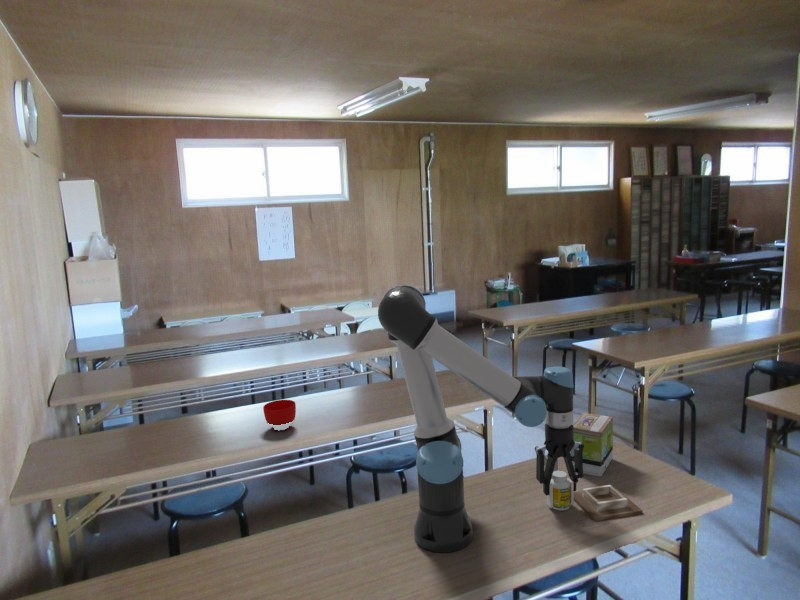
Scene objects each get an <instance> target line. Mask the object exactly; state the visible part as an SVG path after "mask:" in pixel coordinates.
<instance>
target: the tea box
mask: <svg viewBox="0 0 800 600" xmlns="http://www.w3.org/2000/svg"><path fill="white" fill-rule="evenodd" d="M572 425H573V426H574V437H573V440H574V441H575V442H577V441H579V442H581V443H582V444H583V445H584V449H583V452H582V458H583V475H588V476H589V475H590V476H593V477H602V476H603V474H605V473H604V472H605V471H606V470H607V468H608V466H609V465H610V463H611V461H612V460H613V457H614V456H613V452H614V450H613V448H614V447H613V446H614V445H613V443H614V417H613V416H607V415H602V414H600V415H599V414H595V413H587V412H582V413H581V415H579V417H578V418H577V420H576V421H575V422H573V424H572ZM570 454H571V457H572V459H571V460H572V463H573V466H574V470H575V462H574V447H573V448H572V450H571V451H570Z"/></svg>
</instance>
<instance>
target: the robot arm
mask: <svg viewBox="0 0 800 600" xmlns="http://www.w3.org/2000/svg"><path fill="white" fill-rule="evenodd" d="M425 299H426V298H425V297H424V296H423V294H422V293H421V292H420V291H419V289H417V288H415V287H413V286H412V285H406V284H400V285H397V286H394V287H392V288H391V289H389V290H388V291H387V292H386V293H385V294H384V297H382V299H381V301H380V302H379V305H378V309H377V317H378V321H379V323H380V325H381V326H382V328H383V330H385V332H386V334H387V337H388V339H389V341H390V342H391V343H393V344H395V345H396V348H397V354H398V356H399V361H400V363H401V367H402V371H403V375H404V379H405V383H406V387H407V391H408V395H409V398H410V403H411V407H412V409H413V414H414V417H415V418H414V419H415V422H416V427H415V429H414V431H413V435H414V439H415V443H416V447H417V450H418V451H417V453H416V460H415V467H416V470H417V471H416V472H417V486H418V487H417V489H418V505H419V509H418V512H417V516H416V519H415V523H414V526H413V527H414V528H413V534H414V540H415V542H416V544H417V545H419V547H421V548H423V549H424V550H427V551H430V552H435V553H452V552H457V551H459V550H462V549H464V548H465V547H467V546H468V545H470V543H471V541H472V540H473V537H474V536H473V535H474V533H473V525H472V522H471V519H470V517H469V514H468V512H467V510H466V507H465V487H464V485H465V484H464V483H465V482H464V458H463V457H464V456H463V454H462V443H461V442H462V441H461V439H460V437H459V435H458V433H457V430H456V426H455V425H456V424H455V422H454V421H453V419H449V417H448V416H447V411H446V407H445V404H444V400H443V397H442V392H441V388H440V384H439V381H438V380H439V379H438V376H437V372H436V368H435V364H434V361H433V360H435V361H436V362H438V363H439V364H441V365H443V366H444V367H445V368H447V369H448V370H449V371H451V372H452V373H454V374H455V375H457V376H458V377H460V378H461V379H463V380H464V381H466V383H468V384H470V385H471V386H473V387H474V388H475V389H477V390H478V391H480V392H481V393H483V394H484V395H486V396H487V397H489V398H490V399H491V400H493V401H494V402H496V403H497V404H499V405H500V406H501V407H503V408H504V409H506V410H507V411H509V413H511V414H513V415H514V416H515V418H516V420H517V421H518V422H519V423H520V424H521V425H523V426H524V427H527V428H536V427H538V426H540V425H542V424H543V422H544V423H545V424H544V438H545V440H544V443H543V444H542V445H541V446H538V445H536V446H535V447H534V452H535V453H536V461H535V462H536V466H535V467H536V470H535V472H536V473H535V474H536V475H535V479H536V481H538V482H539V483H540V484H541V485H542V486H543V487H542V488H543V494H544V495H545V496H546V497H545V499H546V505H548V506H549V508H552V507H553V485H552V484H551V483H550V482H551V479H553V478H552V474H553V470H554V466H555V462H557V459H559V458H563V460H564V464H565V467H566V471H567V475H568V477H567V480H568V481H569V483H570V506H571V505H574V502H575V501H574V492H577V483H579V479H583V478H584V473H583V458H582V452H583V449H584V445H583V444H582V443H581V442H579V441H577V442H575V441H574V440H573V437H574V426H573V424H574V387H575V385H574V376H573V371H572V370H571V369H570V368H568V367H566V366H565V367H564V366H560V365H559V366H558V365H557V366H552V367H551V366H548V367H546V368H544V371H543V375H536V376H533V375H531V376H515V375H511V374H510V373H508V372H507V371H505V370H504V369H502V368H501V367H500V366H498V365H497V364H495V363H494V362H492V361H491V360H490V359H488V358H486V357H485V356H484V355H482V354H481V353H480V352H478V351H477V350H475V349H474V348H472V347H471V346H469V345H468V344H466V343H465V342H463V341H462V340H461V339H460V338H458V337H456V336H455V335H454V334H452V333H451V332H450V331H448V330H446V329H445V328H443V327H442V326H441V325H439V323H438V319H437V317H435V316H433V314H431V313H429V311H427V310H426V304H427V303H426V300H425ZM573 447H574V462H575V470H574V466H573V463H572V460H571V459H572V457H571V450H572V448H573ZM546 450H547V451H546ZM546 452H548V453H547V457H546V458H547V463H546V467H545V465H544V455H545V456H546Z"/></svg>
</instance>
